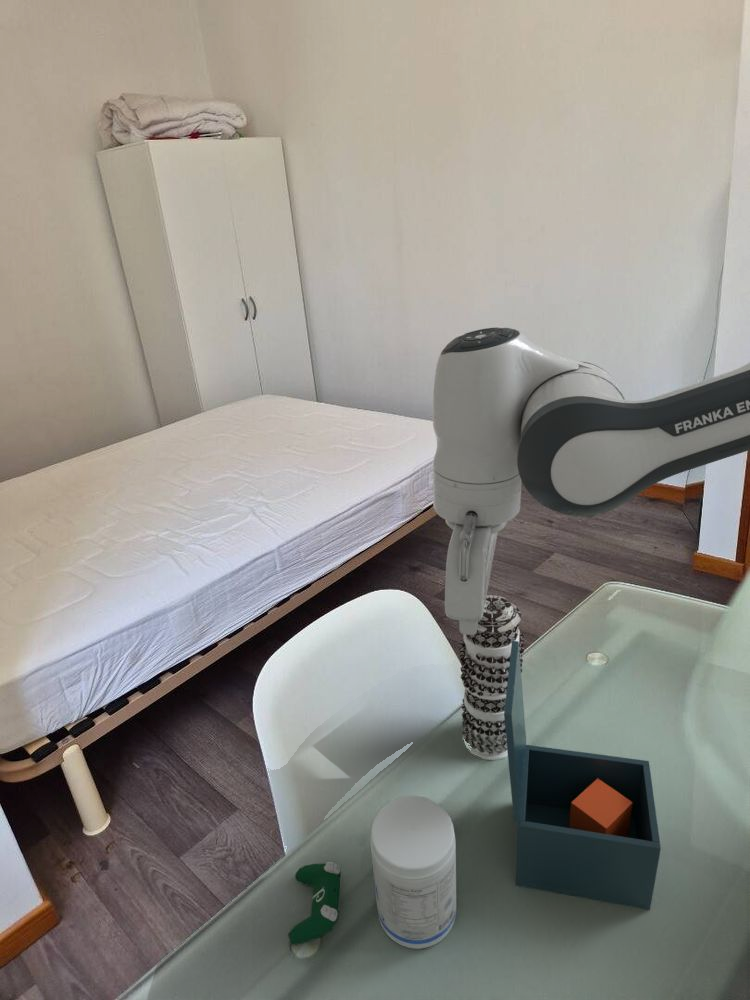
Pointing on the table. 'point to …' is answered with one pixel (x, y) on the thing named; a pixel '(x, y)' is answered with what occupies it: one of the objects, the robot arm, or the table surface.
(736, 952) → the table surface
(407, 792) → the table surface
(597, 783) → the block
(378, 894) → the supplement tub
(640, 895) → the dark teal open box
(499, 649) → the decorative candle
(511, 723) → the lid
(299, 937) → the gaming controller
